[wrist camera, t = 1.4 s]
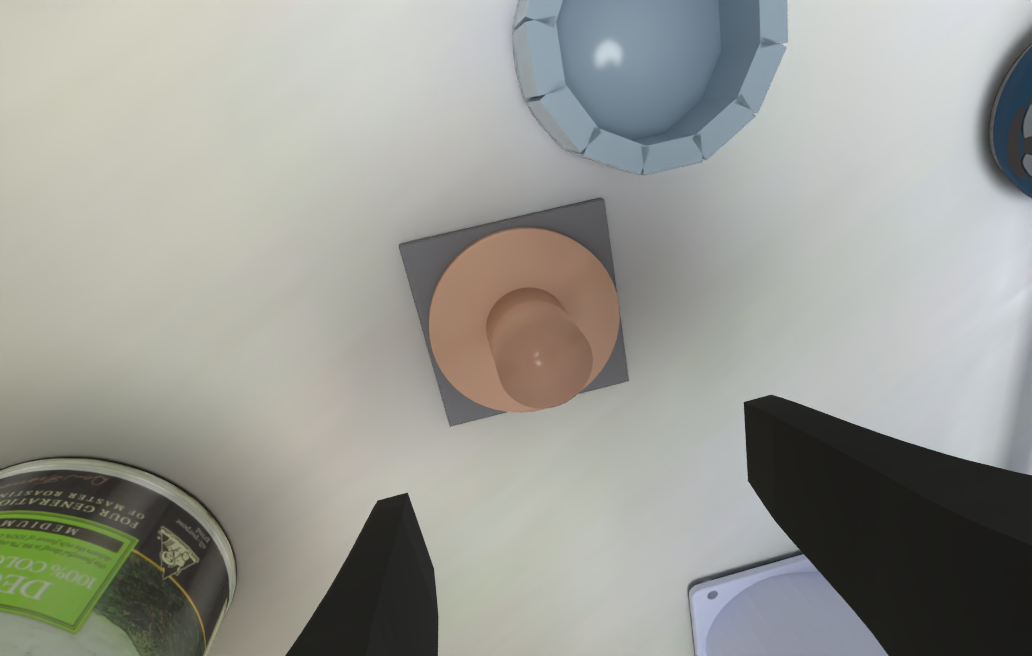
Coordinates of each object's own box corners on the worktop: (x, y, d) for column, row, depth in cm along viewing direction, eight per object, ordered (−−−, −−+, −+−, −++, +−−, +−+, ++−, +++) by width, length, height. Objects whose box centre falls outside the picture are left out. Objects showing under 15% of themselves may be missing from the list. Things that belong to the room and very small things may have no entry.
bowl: (725, -112, 17) (785, -157, 14) (736, 138, 19) (789, 142, 17) (490, -66, 16) (503, -104, 13) (535, 184, 19) (554, 195, 16)
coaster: (600, 197, 19) (604, 199, 19) (625, 376, 22) (628, 380, 21) (399, 244, 19) (398, 246, 18) (449, 421, 21) (450, 426, 21)
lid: (599, 206, 19) (642, 228, 15) (623, 377, 21) (665, 432, 18) (406, 250, 18) (402, 284, 15) (453, 420, 21) (460, 486, 17)
